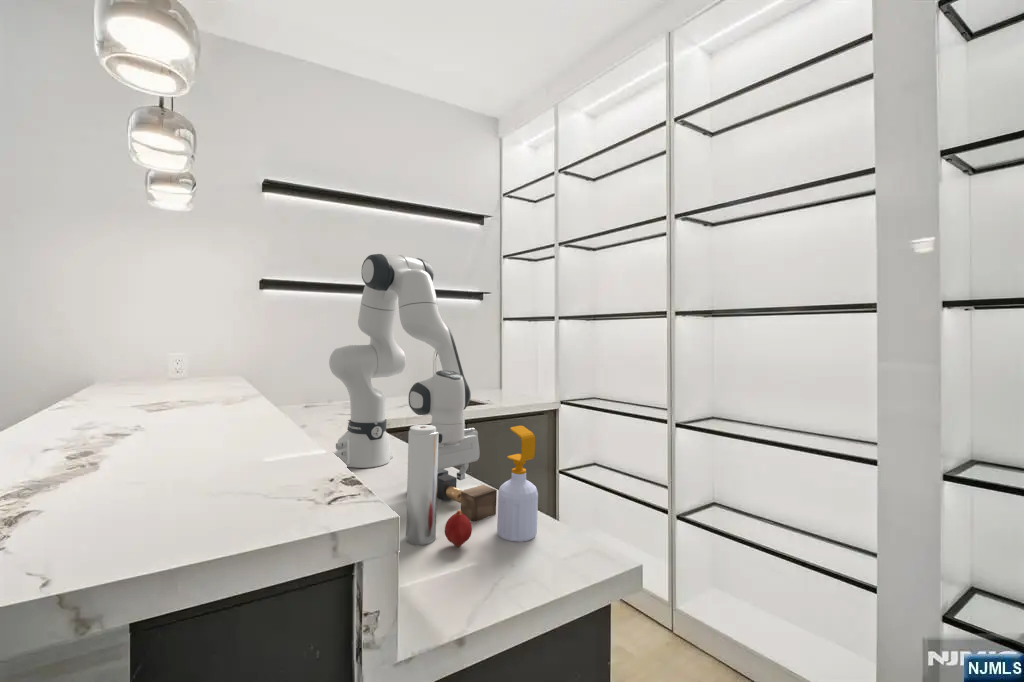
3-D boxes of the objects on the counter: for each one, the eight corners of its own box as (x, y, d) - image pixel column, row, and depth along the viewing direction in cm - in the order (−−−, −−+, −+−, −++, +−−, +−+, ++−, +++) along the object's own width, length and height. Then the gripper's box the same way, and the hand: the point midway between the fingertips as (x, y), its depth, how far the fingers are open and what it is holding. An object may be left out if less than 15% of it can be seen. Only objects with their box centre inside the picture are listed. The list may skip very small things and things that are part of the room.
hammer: (417, 488, 135) (417, 469, 135) (429, 485, 138) (429, 466, 137) (454, 506, 123) (455, 485, 123) (466, 502, 126) (467, 482, 125)
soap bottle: (516, 521, 116) (520, 421, 115) (544, 534, 110) (548, 428, 109) (488, 532, 110) (492, 426, 109) (517, 546, 103) (520, 434, 102)
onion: (441, 542, 104) (442, 506, 104) (466, 538, 107) (467, 503, 106) (448, 554, 99) (449, 516, 99) (474, 550, 101) (476, 513, 101)
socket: (460, 515, 119) (461, 491, 118) (482, 508, 124) (483, 484, 123) (473, 522, 115) (474, 497, 115) (495, 514, 120) (496, 490, 120)
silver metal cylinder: (429, 547, 102) (432, 431, 101) (400, 543, 103) (403, 428, 102) (439, 534, 108) (443, 424, 107) (413, 530, 109) (415, 422, 108)
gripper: (470, 424, 137) (469, 472, 138) (409, 435, 123) (408, 488, 124) (484, 428, 133) (483, 477, 133) (423, 439, 119) (422, 495, 119)
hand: (446, 483), depth 128 cm, fingers open, 8 cm apart
